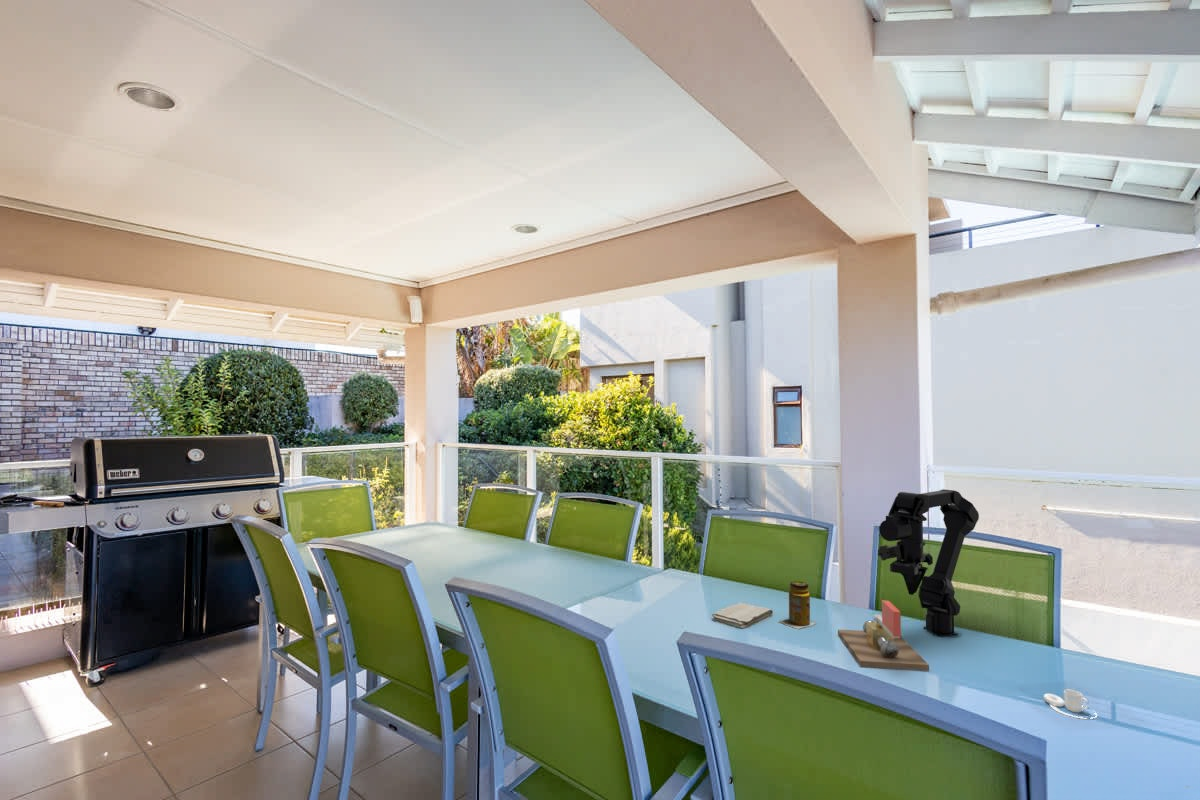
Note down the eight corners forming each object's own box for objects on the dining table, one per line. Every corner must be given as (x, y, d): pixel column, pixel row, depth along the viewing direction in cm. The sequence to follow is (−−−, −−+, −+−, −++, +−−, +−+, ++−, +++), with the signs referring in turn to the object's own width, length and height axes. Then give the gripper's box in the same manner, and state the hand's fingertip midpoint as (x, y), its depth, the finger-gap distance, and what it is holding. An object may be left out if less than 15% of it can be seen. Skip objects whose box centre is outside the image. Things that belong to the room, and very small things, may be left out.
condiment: (816, 624, 176) (815, 584, 177) (798, 629, 171) (797, 588, 172) (796, 617, 182) (795, 578, 183) (778, 622, 178) (777, 582, 178)
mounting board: (838, 634, 167) (837, 629, 167) (897, 637, 165) (897, 632, 165) (860, 667, 145) (860, 660, 146) (929, 671, 143) (929, 664, 143)
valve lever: (872, 618, 157) (872, 592, 157) (883, 618, 157) (883, 593, 157) (891, 639, 142) (890, 611, 142) (903, 640, 141) (903, 612, 142)
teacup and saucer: (1037, 701, 128) (1036, 683, 129) (1070, 700, 129) (1070, 681, 129) (1072, 722, 120) (1071, 702, 120) (1108, 720, 120) (1107, 700, 121)
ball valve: (860, 634, 163) (860, 611, 164) (880, 635, 163) (880, 612, 163) (879, 657, 148) (879, 631, 148) (901, 658, 147) (900, 632, 147)
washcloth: (709, 622, 179) (709, 611, 179) (740, 608, 192) (740, 598, 192) (744, 631, 171) (744, 621, 171) (773, 616, 184) (773, 606, 184)
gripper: (891, 529, 176) (892, 581, 176) (869, 538, 163) (870, 594, 162) (932, 534, 168) (933, 588, 168) (913, 544, 155) (914, 603, 154)
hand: (912, 593), depth 163 cm, fingers closed
